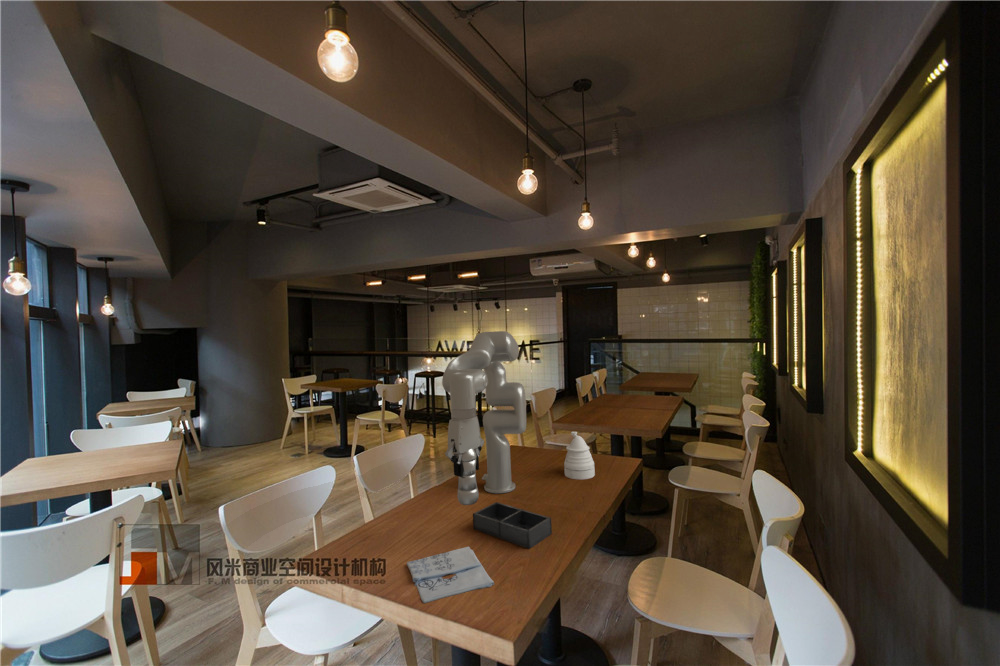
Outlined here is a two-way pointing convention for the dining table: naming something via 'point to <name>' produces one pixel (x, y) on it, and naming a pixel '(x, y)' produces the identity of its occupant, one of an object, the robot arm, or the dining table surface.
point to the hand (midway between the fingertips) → (466, 471)
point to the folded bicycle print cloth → (437, 566)
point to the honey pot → (578, 460)
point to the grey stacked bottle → (468, 479)
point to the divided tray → (512, 524)
